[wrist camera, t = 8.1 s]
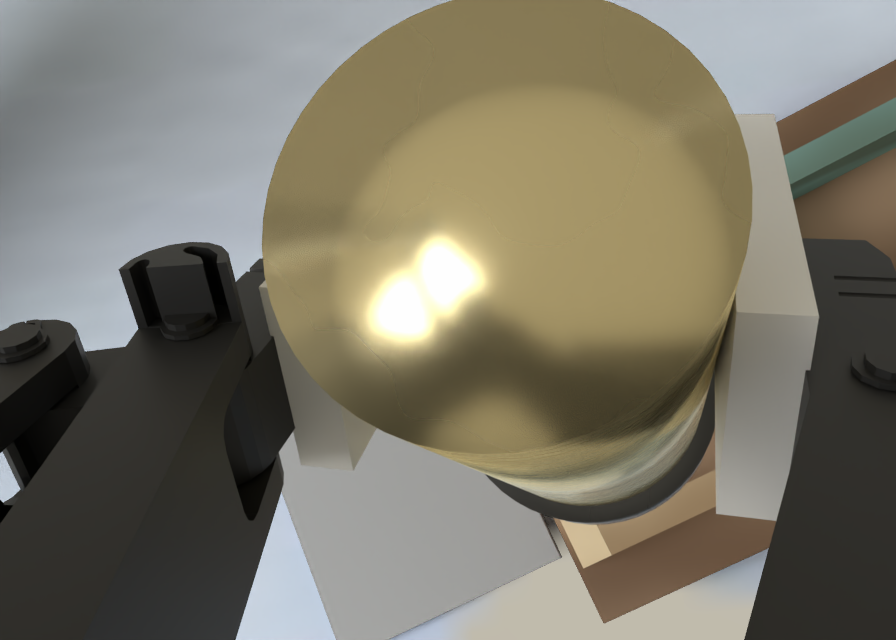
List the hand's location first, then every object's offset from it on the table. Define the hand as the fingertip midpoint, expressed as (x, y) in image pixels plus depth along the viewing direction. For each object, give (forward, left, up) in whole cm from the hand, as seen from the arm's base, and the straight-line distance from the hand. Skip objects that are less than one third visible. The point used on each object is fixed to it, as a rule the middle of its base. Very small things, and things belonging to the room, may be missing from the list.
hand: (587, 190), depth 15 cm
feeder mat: (0, -10, -17) cm, 20 cm away
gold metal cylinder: (+3, -2, -4) cm, 5 cm away
